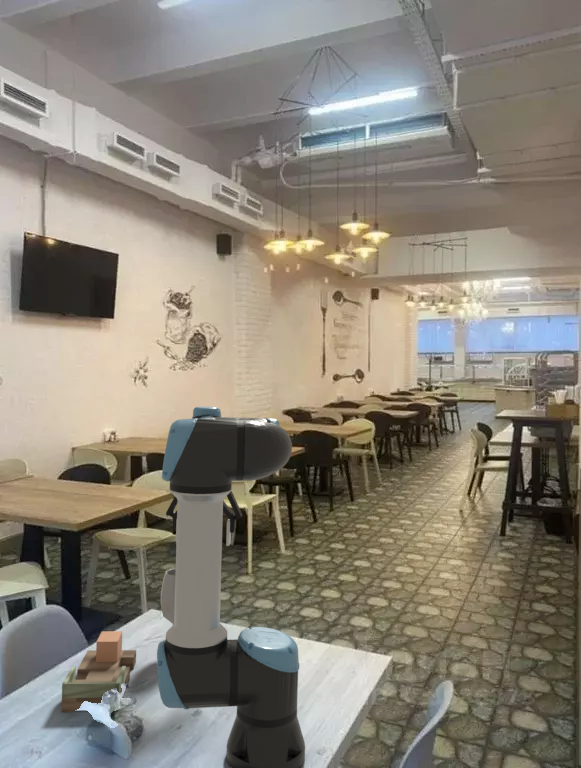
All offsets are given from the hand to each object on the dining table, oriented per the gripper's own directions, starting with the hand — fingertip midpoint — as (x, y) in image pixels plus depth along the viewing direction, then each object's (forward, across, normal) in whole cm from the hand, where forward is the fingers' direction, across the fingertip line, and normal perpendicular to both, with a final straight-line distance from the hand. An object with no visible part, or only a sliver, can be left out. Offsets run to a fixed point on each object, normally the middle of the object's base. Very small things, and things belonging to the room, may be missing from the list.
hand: (203, 543), depth 167 cm
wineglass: (+28, +6, +4) cm, 29 cm away
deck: (+28, +18, +24) cm, 41 cm away
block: (+25, +20, +16) cm, 35 cm away
